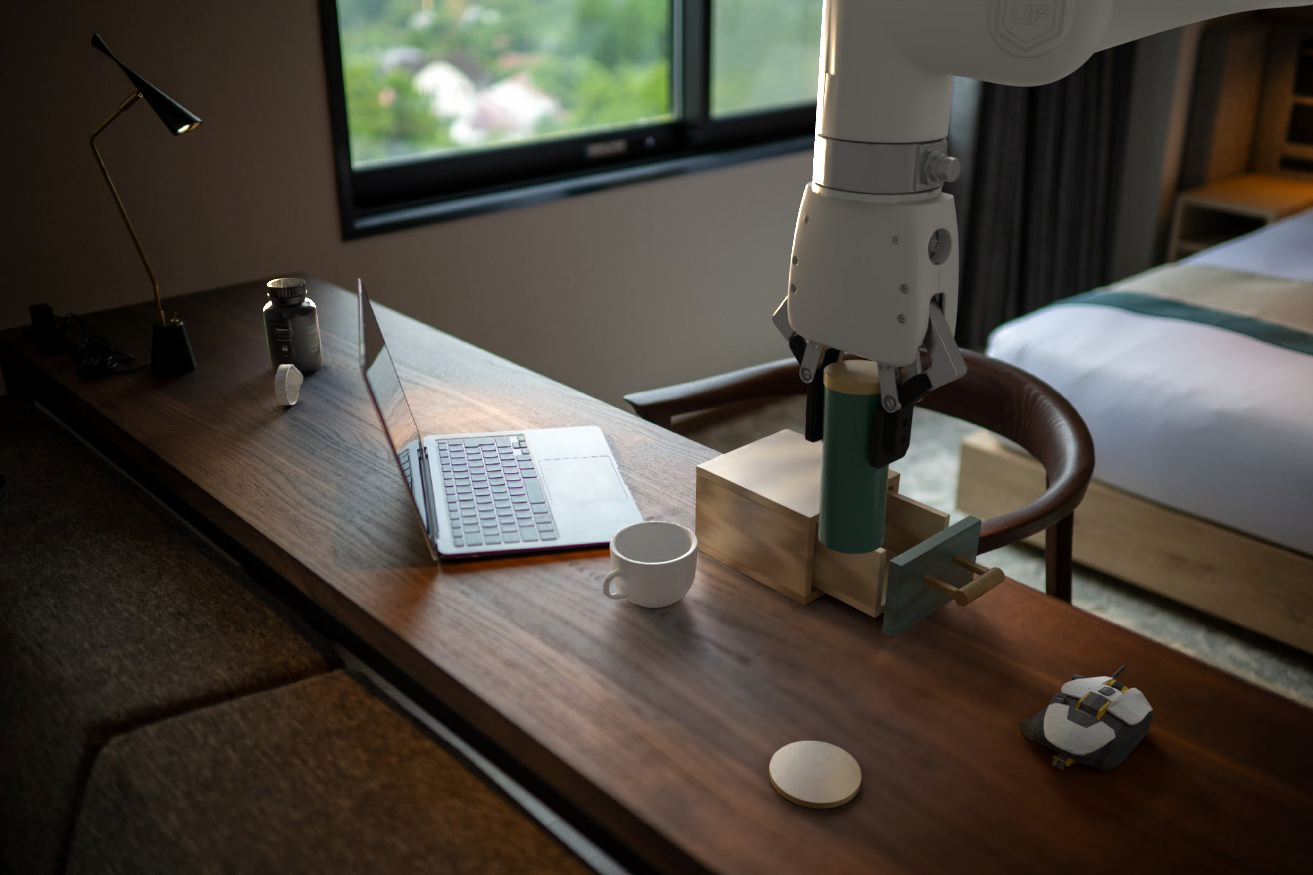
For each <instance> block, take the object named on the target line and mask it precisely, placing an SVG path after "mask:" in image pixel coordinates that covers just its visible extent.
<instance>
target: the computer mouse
mask: <svg viewBox="0 0 1313 875" xmlns="http://www.w3.org/2000/svg"><path fill="white" fill-rule="evenodd" d="M1126 669H1127V665H1125V664H1122V665H1121V666H1120V667H1119V668H1118V669H1117V670H1116V671H1115V672H1114V673H1113V674H1112V675H1111V676H1106V675H1105V676H1095V677H1087V676H1083V675H1080V674H1077V673H1073V674H1070V675H1069V677H1070V678H1071V680H1070V681H1067V682H1065V683H1064V684H1063V685H1062V687H1061V688H1060V692H1054V693H1053V695H1052V698H1051V700H1050V703H1049V704H1047V706H1045V707H1044V708H1043V709H1042V710H1041V711H1039V712H1037V713H1035V714H1034V715H1032V716H1031V717H1030V718H1028V719H1027V720H1025V721H1023V722H1020V723H1019V727H1020V729H1021V731H1022V732H1023V734H1024V736H1025V739H1028V740H1029V741H1032V742H1034V743H1037V744H1040V745H1042V746H1044V747H1045V748H1048V749H1050V750H1052V751H1054V752H1055V753H1058V754H1057V755H1056V756H1055V755H1054V754H1053V755H1052V757H1053V759H1052V761H1051V763H1050V764H1051V766H1052V767H1054V768H1056V769H1057V770H1060V771H1064V769H1065V767H1066V766H1067V767H1070V765H1071V764H1074V765H1075V764H1076V763H1078V764H1081V765H1085V766H1089V767H1091V768H1095V769H1098V770H1100V771H1107V770H1110V769H1114V768H1116V767H1118V766H1119V765H1121V764H1122V763H1123V762H1124V761H1125V759H1126V758H1127V757H1128V756H1129V755H1130V754H1131V752H1133V751H1134V749H1135V748H1136V747H1137V746H1138V745H1139V744H1140V743H1141V741H1142V740H1143V739H1144V737H1146V735H1147V734H1148V733H1149V729H1150V727H1151V720H1153V718H1154V717H1155V716H1156V713H1154V712H1153V710H1154V708H1152V706H1151V704H1150V702H1149V701H1148V699H1147V698H1146V696H1145V695H1144V693H1143V691H1141V690H1139V689H1137V688H1136V687H1130V688H1128V687H1127V685H1125V684H1124V683H1122V682H1119V681H1117V678H1118V677H1119V676H1120V675H1121V674H1122V673H1123V672H1124V671H1125V670H1126Z"/></svg>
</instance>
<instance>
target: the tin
mask: <svg viewBox="0 0 1313 875" xmlns="http://www.w3.org/2000/svg"><path fill="white" fill-rule="evenodd" d="M823 382H824V398H823V425H822V440H821V442H822V452H821V479H820V505H819V532H818V537H819V540H820V542H821V543H822V544H823V545H824V546H825V547H827V548H829V549H831V550H834V551H837V552H841V553H847V554H862V553H868V552H872V551H875V550H877V549H879V548H880V547H881V546H882V545H883V543H884V536H885V520H886V504H887V489H888V473H889V469H890V464H888V465H886V466H884V467H882V468H880V469H877V468H874V467H872V466H870V463H869V462H868V460H869V449H870V437H871V426H872V415H873V411H874V409H876V408H879V407H881V406H882V401H881V393H880V384H879V376H878V367H877V362H876V361H872V360H868V359H866V360H864V359H848V360H842V361H839V362H835V363H832V364H830V365H828V366H826V367H825V369H824V377H823Z"/></svg>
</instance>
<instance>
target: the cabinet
mask: <svg viewBox="0 0 1313 875" xmlns="http://www.w3.org/2000/svg"><path fill="white" fill-rule="evenodd" d="M821 452H822V441H821V440H819V441H817V442H814V443H812V442H810V441H807V440H806V439H805V434H802V433H801V432H800V433H799V432H797V431H795V430H792V429H790V428H785V429H782V430H780V431H777V432H776V433H773V434H771V435H767V436H766V437H763V438H760V439H758V440H755V441H753V442H750V443H748V444H746V445H743V446H741V447H738V448H736V449H734V450H730V451H729V452H727V453H724V454H721V455H719V456H716V457H714V458H711V459H709V460H706V461H704V462H701V463H699V464H697V465H695V474H696V475H695V508H694V509H695V511H694V512H695V514H694V515H695V516H694V534H695V535H696V537H697V541H698V551H700V552H702V553H704V554H706V555H708V556H709V557H712V558H713V559H715V560H717V561H719V562H721V563H723V564H724V565H727V566H728V567H730V568H732V569H734V570H736V571H737V572H740V573H741V574H743V575H745V576H747V577H748V578H751V579H753V580H754V581H757V582H759V583H761V584H762V585H764V586H766V587H768V588H770V589H772V590H774V591H776V592H777V593H779V594H781V595H783V596H785V597H787V598H789V599H791V600H792V601H793V602H794V601H795V603H798V604H800V605H802V606H806V605H808V604H810V603H812V602H814V601H815V600H817V599H818V598H820V597H823V596H824V595H826V594H827V593H825V592H823V591H821V590H819V589H817V588H815V587H814V586H812V572H813V558H814V544H815V530H816V524H817V523H819V505H820V479H821ZM900 481H901V473H900V472H898V471H895V470H893V469H891V468H889V473H888V489H889V490H892V491H894V492H897V493H899V489H900Z"/></svg>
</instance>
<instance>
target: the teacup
mask: <svg viewBox="0 0 1313 875" xmlns="http://www.w3.org/2000/svg"><path fill="white" fill-rule="evenodd" d="M698 551H699V550H698V541H697V537H696V535H695V532H694V531H692V530H691V529H690V528H688V527H686V526H684V525H682V524H679V523H676V522H671V521H666V520H665V521H664V520H650V521H649V520H648V521H640V522H635V523H632V524H629V525H627V526H624V527H622V528H620V529H619V530H617V531H616V532H615V533H614V534H613V535H612V537H611V539H610V540H609V554H610V565H611V571H610V572H609V573H608V574H607V575H606V576H605V578H604V580H603V583H602V594H603V595H604V596H605V597H606V598H607V599H610V600H625V599H626V600H628V601H629V602H630V603H632V604H635V605H636V606H640V607H643V608H648V609H650V608H651V609H659V608H660V609H661V608H664V607H669V606H670V605H673V604H676V603H677V602H679V601H680V600H682V599H683V598H684V597H685V596H686V595H687V594H688V592H689V591H690V590H691V588H692V586H693V584H694V582H695V578H696V571H697V563H698V555H699V554H698V553H699V552H698ZM612 581H613V582H614V584H615V587H616V589H617V590H618V591H616V592H613V593H611V592H610V585H611V583H612Z"/></svg>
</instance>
